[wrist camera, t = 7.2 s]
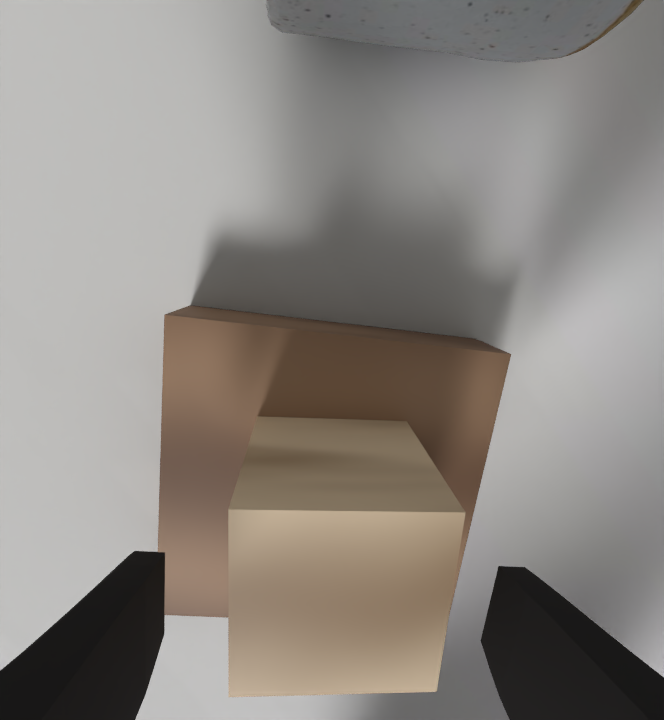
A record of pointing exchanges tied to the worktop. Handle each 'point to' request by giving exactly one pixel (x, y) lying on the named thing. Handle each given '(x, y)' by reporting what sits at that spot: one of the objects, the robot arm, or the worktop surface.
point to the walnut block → (300, 400)
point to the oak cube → (339, 560)
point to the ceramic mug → (458, 24)
